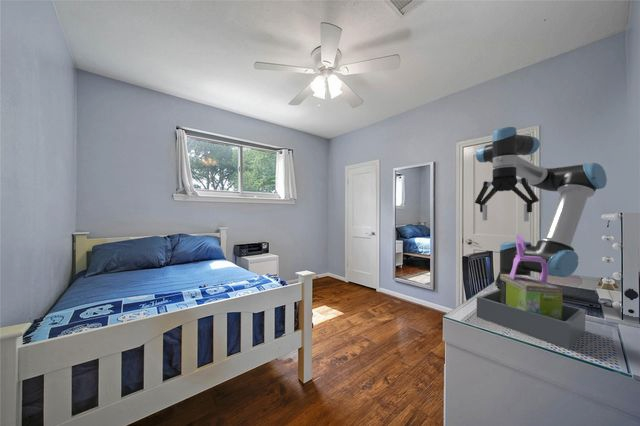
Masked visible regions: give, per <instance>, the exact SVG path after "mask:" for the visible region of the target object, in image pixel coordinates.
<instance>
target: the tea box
mask: <svg viewBox="0 0 640 426" xmlns="http://www.w3.org/2000/svg"><path fill="white" fill-rule="evenodd" d="M500 303H502V304H505V305H509V306H512V307H516V308H519V309H523V310H525V311H530V312H533V313H537V314H541V315H544V316H548V317H551V318H555V319H558V320H562V304H563V287H561V286H558V285H557V284H556V285H555V284H553V283H550V282H548V281H547V283H544V282H543V281H542V280H540V279H539V278H537V277H535V276H532V275H531V276H527V275H515V279H512V277H511V276H510V274H500Z"/></svg>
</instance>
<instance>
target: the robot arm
mask: <svg viewBox="0 0 640 426" xmlns="http://www.w3.org/2000/svg"><path fill="white" fill-rule="evenodd" d="M491 142H492V143H491V144H486V145H484V146H481V147H478V148H477V149H476V153H475V158H476V161H477V162H479V163H488V162H489V163H491V164H492V168H493V169H492V180H491V181H486V180H484V181H483V184H482V188H481V189H480V192H479V193H478V195H477V197H476V199H475V200H474V203H475V204H478V205H479V212H480V213H482V221H488V204H487V203H488V202H489V201H490V199H491V198H492V197H493V196H495V194H496V193H498V192H505V191H506V192H510V191H512V192H514V193H515V194H516V195H517V196H518V197H519V198H520V199H522V201H523V202H525V203H524V204H523V222H530V221H529V219H530V217H529V215H530V214H529V213H533V204H534V203H538V202H539V201H540V199H539V198H538V196H537V194H536V193H535V192H534V190H533V189H532V187H534V188H538V189H539V190H544V191H549V192H557V193H558V194H560V195H559V197H558V199H557V202H556V205H555V207H554V211H553V213H552V216H551V218H550V221H549V223H548V227H547V229H546V231H545V234H544V237H543V238H541V239H538V241H537V243H536V245H532V243H531V242H530V241H525V245H526V248H527V250H526V251H524V253H523V255H524V256H537V257H541V258H542V259H545V260H546V263H547V265H548V276H550V277H558V278H567V277H569V276H571V275H573V274H574V273H575V271H576V270H577V268H578V266H579V255H578V254H577V253H576V251H575V248H574V247H573V246H572V243H573V239H574V237H575V233H576V231H577V229H578V225H579V223H580V221H581V217H582V214H583V211H584V209H585V206H586V203H587V200H588V198H591V197H593V196H594V195H595V192H596V191H597V190H601V189H604V188H605V187H606V185H607V181H608V178H607V173H606V171H605V168H604V167H603V166H602V165H600V164H599V163H597V162H592V163H591V162H590V163H585V162H584V163H583V164H575V165H566V166H561V167H554V168H553V167H551V168H546V167H544V166H537V165H535V164H533V163H531V162H530V161H528V160H526V159H524V158H523V157H520V156H531V155H532V154H534V153H536V152H537V151H538V149H539V148H540V140H539V139H538V138H537V137H535V136H531V135H524V134H523V135H522V134H521V135H520V134H518V131H517V128H516V127H515V126H505V127H501V128H498V129H495V130H494V131H493V132H492V140H491ZM518 177H519V178H518ZM518 183H519V184H520V185H522V187H523V189H524V190H525V191H526V193H527V194H528V196H529V197H528V196H527V195H526V194H524V193H523V192H522V191H521V190H520V189H519V188H518V187H517V184H518ZM490 186H492V187H493V188H492V189H491V190H490V191H489V192H488V189H489V187H490ZM531 186H532V187H531ZM487 192H488V193H487ZM486 193H487V194H486ZM485 195H486V196H485ZM484 196H485V197H484ZM516 242H517V241H509V242H508V241H506V242H502V243H501V244H500V245H499V246H500V247H499V248H500V249H499V272H498V275H497V276H496V279H495V283H494V286H495V287H496V286H497V287H499V288H500V274H510V273H511V270H512V267H513V261H514V258H515V257H516V255H518V254H517V247H516ZM531 272H534V273H538V274H541V273H542V265H541V262H534V261H521V262H519V264H518V266H517V270H516V274H515V275H527V276H532V275H531V274H532V273H531ZM497 287H496V288H497ZM499 288H498V289H499Z"/></svg>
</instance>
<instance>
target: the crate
mask: <svg viewBox="0 0 640 426" xmlns="http://www.w3.org/2000/svg"><path fill="white" fill-rule="evenodd" d="M478 317H479V319H481V320H484V321H487V322H489V323H493V324H496V325H499V326H501V327H504V328H507V329H510V330H513V331H516V332H518V333H522V334H524V335H527V336H530V337H532V338H535V339H539V340H541V341H544V342H547V343H549V344H553V345H555V346H557V347H561V348H564V349H566V350H570V349H571V348H572V347H573V346H574V344H576V343H577V341H578V340H580V338H581V337H582V336H584V334H585V333H586V309H583V308H580V307H574V306H571V305H569V304H568V305H567V304H563V303H562V320H558V319H555V318H551V317H548V316H544V315H541V314H537V313H533V312H530V311H525V310H523V309H519V308H516V307H512V306H509V305H505V304H502V303H500V289H499V288H497V289H495V290H493V291H490V292H487V293H485V294H482V295H479V296H477V297H476V318H478Z"/></svg>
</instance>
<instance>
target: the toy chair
mask: <svg viewBox="0 0 640 426" xmlns="http://www.w3.org/2000/svg"><path fill="white" fill-rule="evenodd" d="M515 236H516V240H517V241H515V242H516V247H517V254H518V255H516V257H515V258H514V261H513V267H512V270H511V273H510V276H511V277H512V279H515V274H516V270H517V266H518V264H519V262H521V261H534V262H541V265H542V273H540V276H539V278H538V279H540V280H542V281H543V282H544V283H547V282H548V276H549V275H548V265H547V263H546V260H545V259H542V258H541V257H537V256H524V255H523V253H524V251H526V250H527V248H526V245H525V242H526V241H525V239H524V237H523V236H522V235H521V234H519V233H517V234H515Z"/></svg>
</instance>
